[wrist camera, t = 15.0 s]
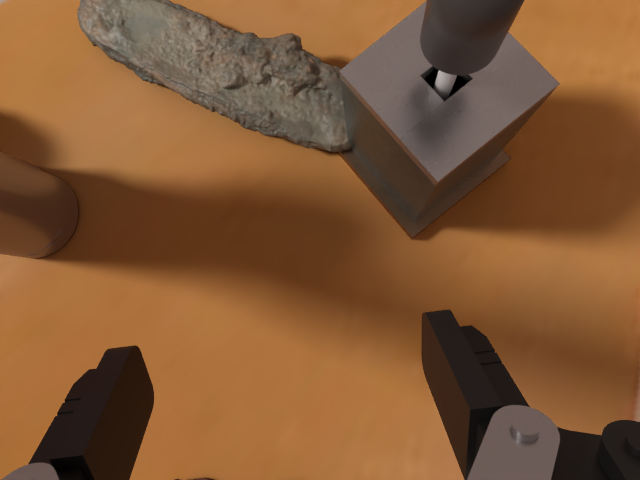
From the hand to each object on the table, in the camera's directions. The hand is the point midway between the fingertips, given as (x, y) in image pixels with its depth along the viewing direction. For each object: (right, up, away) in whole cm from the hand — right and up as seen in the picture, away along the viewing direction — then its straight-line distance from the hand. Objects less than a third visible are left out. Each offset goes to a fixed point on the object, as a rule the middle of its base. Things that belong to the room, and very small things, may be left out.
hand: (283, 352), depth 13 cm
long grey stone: (-10, +21, +37) cm, 44 cm away
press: (+11, +12, +33) cm, 37 cm away
